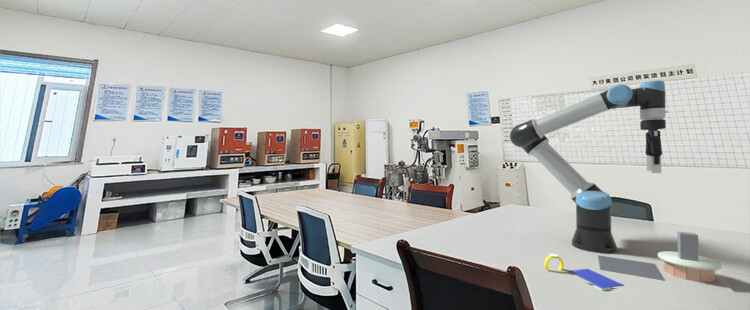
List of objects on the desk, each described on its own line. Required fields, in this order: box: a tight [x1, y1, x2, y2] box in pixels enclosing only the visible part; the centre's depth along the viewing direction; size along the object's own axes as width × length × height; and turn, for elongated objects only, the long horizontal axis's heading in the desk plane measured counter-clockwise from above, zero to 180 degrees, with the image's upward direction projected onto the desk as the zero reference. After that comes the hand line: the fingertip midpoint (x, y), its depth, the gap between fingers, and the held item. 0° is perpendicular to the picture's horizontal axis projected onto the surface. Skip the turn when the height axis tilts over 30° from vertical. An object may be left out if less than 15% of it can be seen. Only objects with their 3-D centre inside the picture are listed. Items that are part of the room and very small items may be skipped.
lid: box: [657, 231, 722, 271], centre depth 95 cm, size 14×14×9 cm
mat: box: [597, 255, 666, 282], centre depth 102 cm, size 16×16×1 cm
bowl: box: [663, 261, 716, 283], centre depth 95 cm, size 11×11×5 cm
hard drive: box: [567, 268, 625, 292], centre depth 94 cm, size 2×8×12 cm
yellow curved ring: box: [543, 253, 564, 273], centre depth 101 cm, size 6×3×6 cm, turn 93°
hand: (653, 171), depth 120 cm, fingers open, 13 cm apart
